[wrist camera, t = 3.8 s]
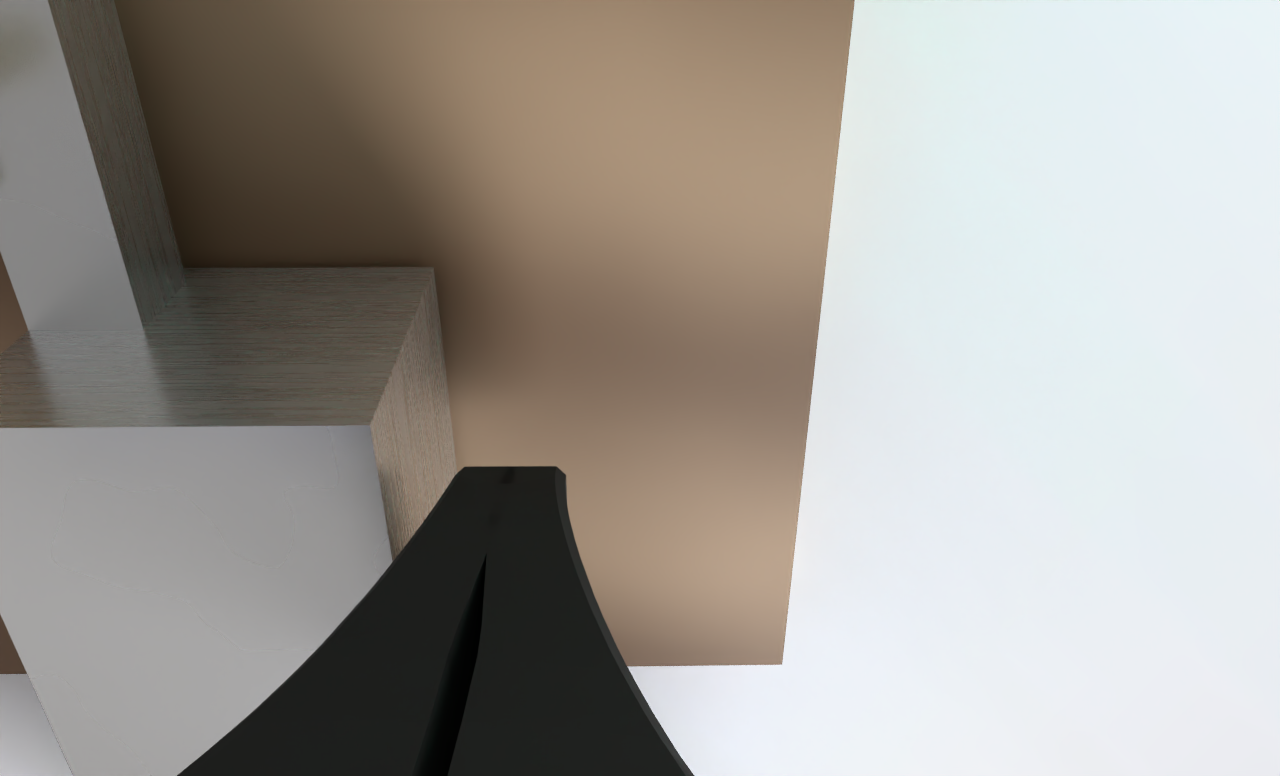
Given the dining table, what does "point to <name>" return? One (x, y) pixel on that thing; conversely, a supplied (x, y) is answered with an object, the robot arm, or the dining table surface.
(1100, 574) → the dining table surface
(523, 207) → the base
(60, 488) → the gauge carriage
